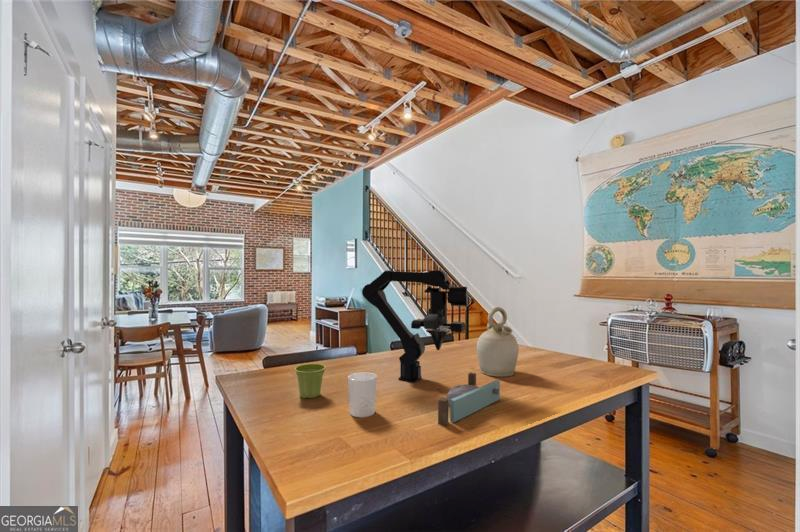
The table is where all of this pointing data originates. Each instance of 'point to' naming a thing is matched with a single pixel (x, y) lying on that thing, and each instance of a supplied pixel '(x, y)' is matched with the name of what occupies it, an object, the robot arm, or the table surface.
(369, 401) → the white cup
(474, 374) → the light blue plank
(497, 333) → the jug
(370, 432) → the table surface
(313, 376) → the plant pot
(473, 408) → the gate
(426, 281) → the robot arm
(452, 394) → the stone block
